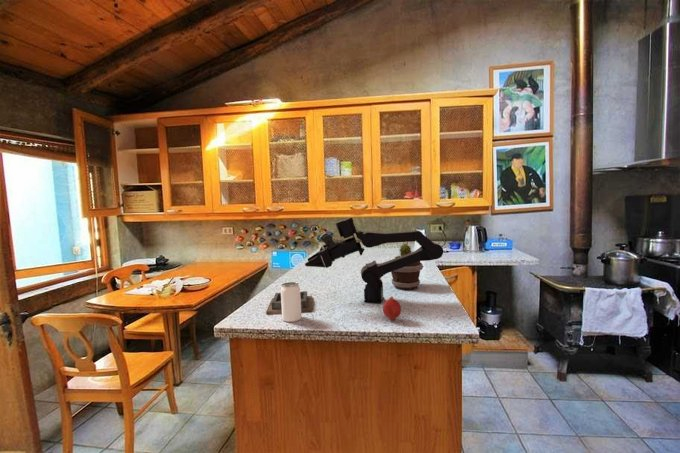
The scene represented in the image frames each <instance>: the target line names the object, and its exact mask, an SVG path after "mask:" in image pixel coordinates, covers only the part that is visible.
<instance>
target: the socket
mask: <svg viewBox="0 0 680 453" xmlns="http://www.w3.org/2000/svg"><path fill="white" fill-rule="evenodd" d="M274 294H275V295H274V296H273V297H272V298H271V300H270V301H269V303H268V306H267V309H266V312H265V315H275V314H278V315H279V314H281V315H282V306H281V292H275V293H274ZM300 297H301V313H309V312H310V313H311V312H312V307H313V296H312V295H308V291H307V290H306V291H305V290H304V291H300Z"/></svg>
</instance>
